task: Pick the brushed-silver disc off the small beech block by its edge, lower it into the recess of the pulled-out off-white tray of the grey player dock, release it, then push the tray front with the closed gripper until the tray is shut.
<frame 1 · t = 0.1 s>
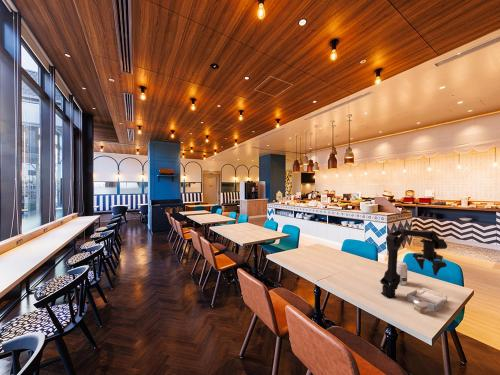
hand: (428, 272, 137), 15 cm above the table, fingers open, 9 cm apart
pedestal: (420, 311, 119), on the table
disc: (420, 304, 119), point 4 cm above the table, touching pedestal
housing: (425, 303, 127), on the table
supplement can: (400, 283, 153), on the table
tray: (430, 296, 131), point 2 cm above the table, slide at 7.0 cm
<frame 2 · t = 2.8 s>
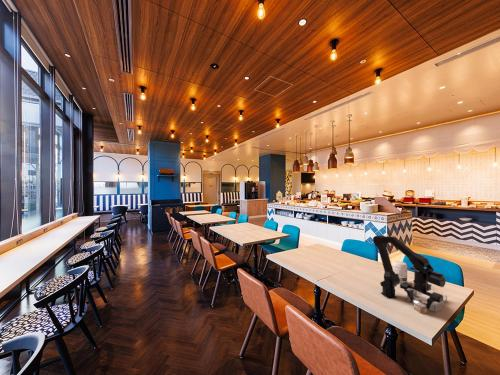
hand: (420, 305, 119), 3 cm above the table, fingers closed on disc, 7 cm apart
disc: (420, 304, 119), point 4 cm above the table, touching gripper, pedestal
everything else where it was.
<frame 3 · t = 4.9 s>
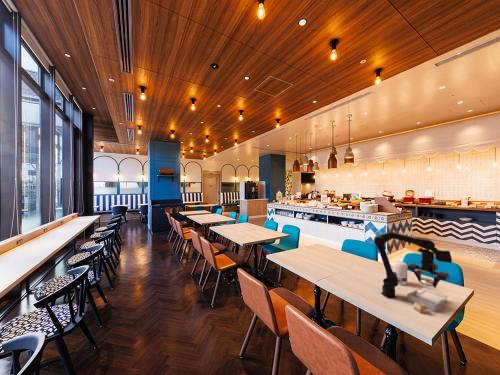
hand: (427, 285, 125), 12 cm above the table, fingers closed on disc, 7 cm apart
disc: (427, 283, 125), point 13 cm above the table, touching gripper
everything else where it was.
when the fingers open (3 cm above the table, at t = 7.2 s): disc drops 2 cm, resting on tray.
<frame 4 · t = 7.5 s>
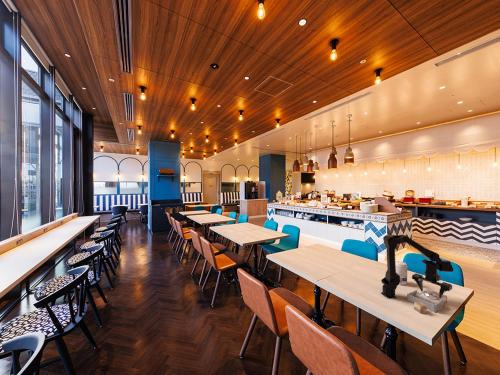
hand: (430, 294, 131), 3 cm above the table, fingers open, 9 cm apart
disc: (430, 296, 131), point 2 cm above the table, touching tray
tray: (430, 296, 131), point 2 cm above the table, slide at 7.0 cm, touching disc
everything else where it was.
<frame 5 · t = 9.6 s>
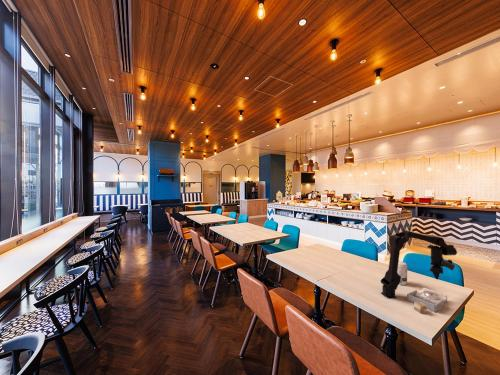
hand: (436, 279, 134), 12 cm above the table, fingers closed
nothing on the table moved.
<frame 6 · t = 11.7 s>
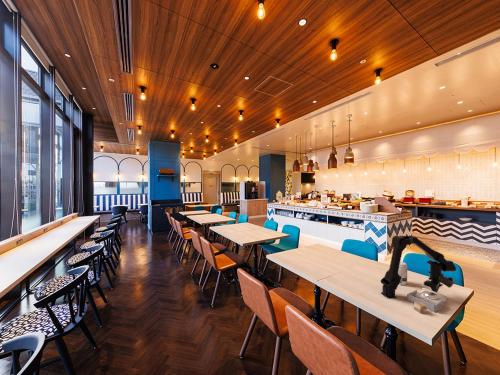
hand: (435, 294, 134), 1 cm above the table, fingers closed
tray: (430, 296, 130), point 2 cm above the table, slide at 6.5 cm, touching disc, gripper
everything else where it was.
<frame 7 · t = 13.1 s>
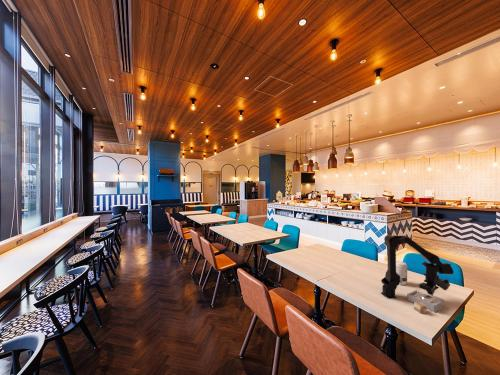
hand: (431, 297, 131), 1 cm above the table, fingers closed
disc: (425, 299, 127), point 2 cm above the table, touching tray
tray: (425, 299, 127), point 2 cm above the table, slide at -0.1 cm, touching disc, gripper
everything else where it was.
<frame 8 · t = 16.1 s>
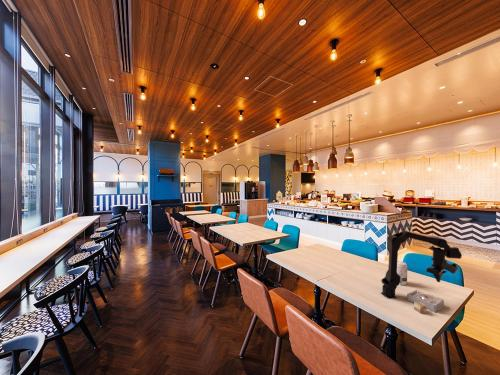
hand: (438, 281, 129), 12 cm above the table, fingers closed
tray: (425, 299, 127), point 2 cm above the table, slide at 0.0 cm, touching disc
everything else where it was.
at the end: tray slide at 0.0 cm; disc inside the target area on the housing (0.6 cm from its centre), point 1.8 cm above the housing's base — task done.
